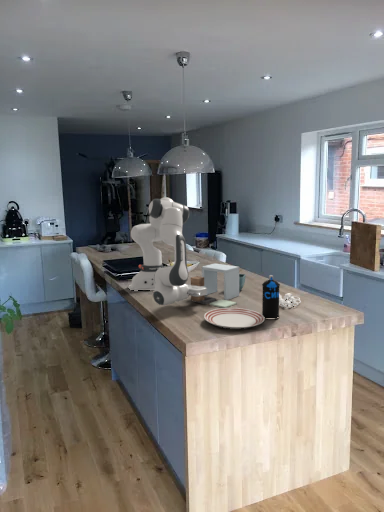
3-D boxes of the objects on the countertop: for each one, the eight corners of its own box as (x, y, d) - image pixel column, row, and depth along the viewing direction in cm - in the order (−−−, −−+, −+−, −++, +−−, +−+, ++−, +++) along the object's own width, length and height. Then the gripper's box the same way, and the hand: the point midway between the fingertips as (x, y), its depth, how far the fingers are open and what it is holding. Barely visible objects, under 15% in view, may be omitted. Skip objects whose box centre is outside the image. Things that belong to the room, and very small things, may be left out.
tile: (225, 308, 219) (225, 306, 219) (209, 304, 226) (209, 303, 225) (236, 303, 226) (236, 302, 226) (221, 300, 233) (221, 299, 233)
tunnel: (226, 300, 233) (226, 270, 231) (202, 295, 245) (201, 266, 242) (239, 295, 242) (239, 266, 239) (215, 291, 253) (215, 263, 250)
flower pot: (245, 288, 257) (245, 274, 256) (242, 292, 249) (242, 277, 248) (231, 287, 260) (231, 273, 259) (227, 291, 252) (227, 276, 250)
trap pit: (205, 304, 227) (205, 302, 227) (192, 301, 233) (192, 299, 233) (216, 300, 233) (216, 298, 233) (203, 297, 239) (203, 295, 239)
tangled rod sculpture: (303, 312, 215) (304, 304, 215) (274, 309, 217) (275, 301, 216) (297, 300, 234) (298, 292, 233) (271, 297, 235) (271, 290, 235)
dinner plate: (266, 315, 208) (266, 308, 207) (262, 335, 181) (262, 327, 181) (210, 312, 214) (209, 305, 213) (198, 331, 187) (198, 323, 187)
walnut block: (198, 301, 225) (197, 278, 223) (191, 299, 228) (190, 277, 226) (204, 299, 229) (204, 277, 227) (197, 297, 232) (196, 276, 230)
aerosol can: (259, 314, 208) (260, 274, 204) (276, 314, 208) (277, 273, 205) (264, 320, 200) (264, 277, 196) (281, 319, 200) (282, 277, 197)
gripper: (196, 288, 210) (214, 283, 221) (166, 282, 224) (184, 278, 234) (196, 301, 212) (214, 295, 222) (166, 294, 225) (184, 289, 235)
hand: (198, 286), depth 228 cm, fingers closed on walnut block, 5 cm apart
